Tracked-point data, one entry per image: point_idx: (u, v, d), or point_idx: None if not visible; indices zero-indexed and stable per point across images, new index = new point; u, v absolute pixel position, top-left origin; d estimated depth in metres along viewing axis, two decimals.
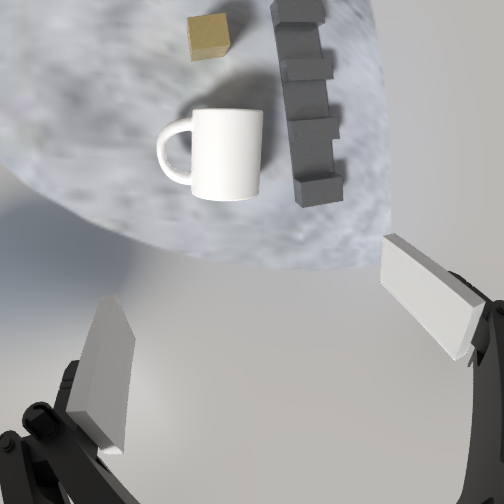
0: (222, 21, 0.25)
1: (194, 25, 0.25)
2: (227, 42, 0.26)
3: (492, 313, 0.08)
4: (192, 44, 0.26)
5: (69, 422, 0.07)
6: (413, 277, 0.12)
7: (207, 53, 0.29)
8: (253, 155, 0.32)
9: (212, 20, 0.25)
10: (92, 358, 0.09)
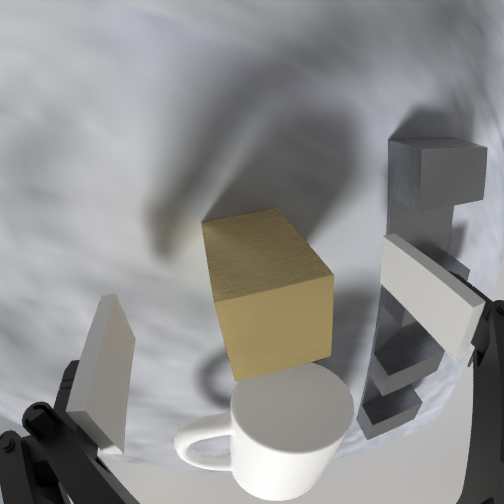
0: (321, 303, 0.10)
1: (237, 325, 0.10)
2: (324, 352, 0.12)
3: (492, 313, 0.08)
4: (235, 370, 0.11)
5: (69, 422, 0.07)
6: (414, 277, 0.12)
7: None
8: (328, 462, 0.18)
9: (293, 304, 0.10)
10: (92, 358, 0.09)
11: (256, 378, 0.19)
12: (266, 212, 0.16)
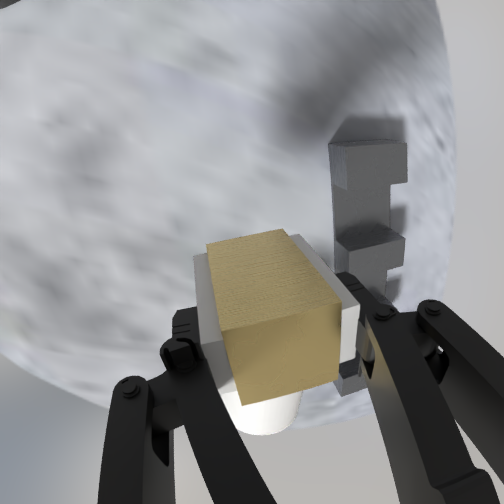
0: (329, 329, 0.10)
1: (245, 353, 0.10)
2: (331, 376, 0.11)
3: (369, 323, 0.09)
4: (242, 395, 0.11)
5: None
6: None
7: None
8: (298, 394, 0.25)
9: (300, 331, 0.10)
10: (210, 300, 0.12)
11: None
12: (271, 233, 0.16)
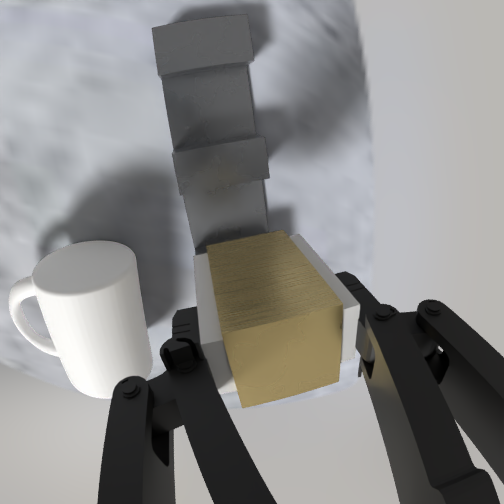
0: (330, 331, 0.10)
1: (245, 355, 0.10)
2: (332, 378, 0.11)
3: (369, 323, 0.09)
4: (243, 397, 0.11)
5: None
6: None
7: None
8: (121, 347, 0.19)
9: (301, 333, 0.10)
10: (210, 300, 0.12)
11: (67, 249, 0.21)
12: (272, 234, 0.16)
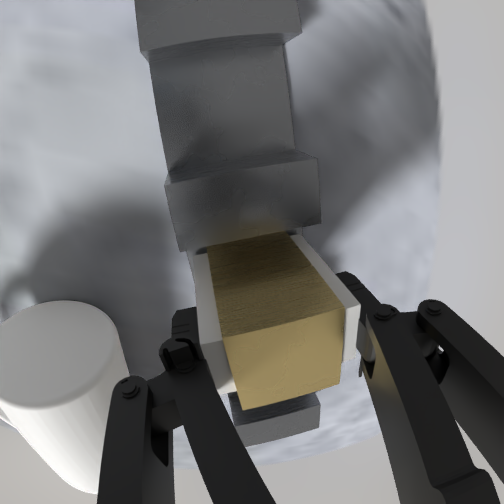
0: (331, 335, 0.10)
1: (246, 359, 0.10)
2: (333, 380, 0.11)
3: (370, 323, 0.09)
4: (243, 400, 0.11)
5: None
6: None
7: None
8: None
9: (303, 337, 0.10)
10: (209, 300, 0.12)
11: (27, 314, 0.13)
12: (273, 234, 0.15)
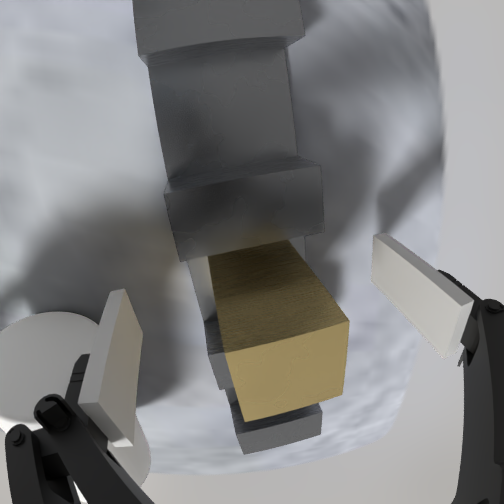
0: (335, 348, 0.10)
1: (248, 373, 0.09)
2: (336, 391, 0.11)
3: (481, 312, 0.08)
4: (245, 412, 0.10)
5: (80, 414, 0.08)
6: (403, 276, 0.12)
7: None
8: None
9: (306, 351, 0.10)
10: (103, 351, 0.09)
11: (22, 326, 0.13)
12: (275, 242, 0.15)
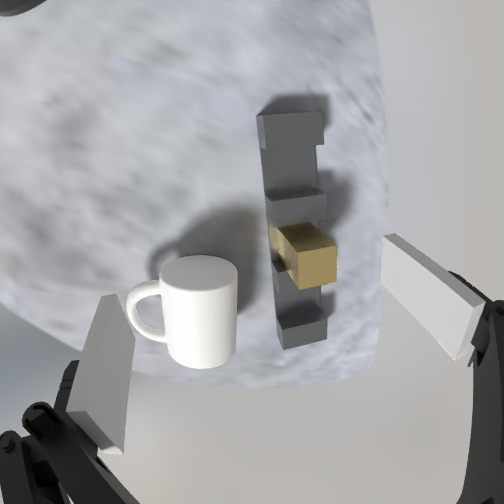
0: (332, 256, 0.29)
1: (303, 262, 0.29)
2: (333, 279, 0.30)
3: (492, 313, 0.08)
4: (300, 283, 0.30)
5: (69, 422, 0.07)
6: (413, 277, 0.12)
7: None
8: (226, 327, 0.31)
9: (322, 255, 0.29)
10: (92, 358, 0.09)
11: (179, 261, 0.33)
12: (306, 224, 0.35)
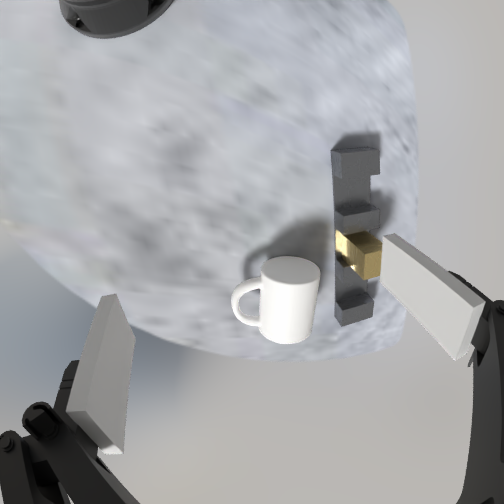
0: None
1: (368, 261, 0.39)
2: None
3: (492, 313, 0.08)
4: (364, 275, 0.40)
5: (69, 422, 0.07)
6: (413, 277, 0.12)
7: None
8: (312, 310, 0.41)
9: (380, 255, 0.39)
10: (92, 358, 0.09)
11: (272, 261, 0.43)
12: (362, 231, 0.45)
